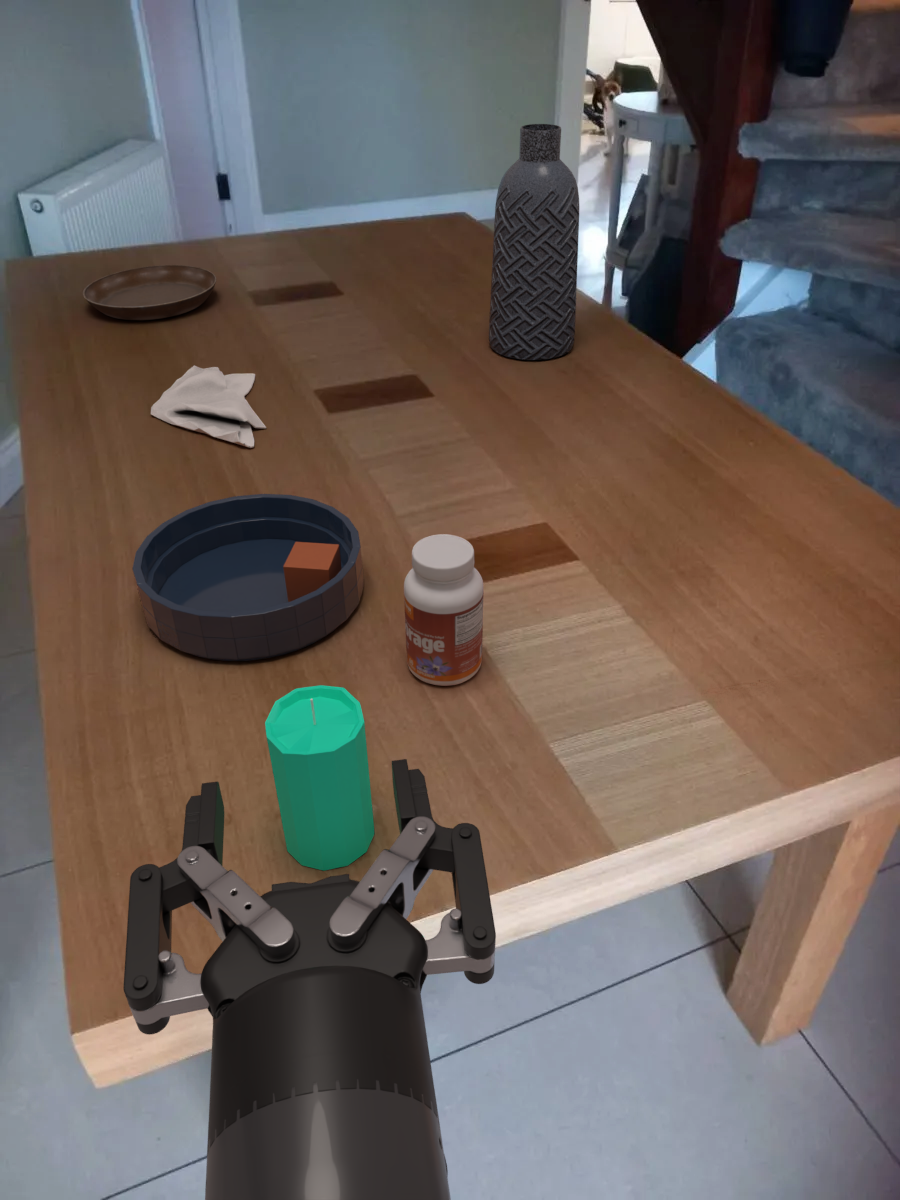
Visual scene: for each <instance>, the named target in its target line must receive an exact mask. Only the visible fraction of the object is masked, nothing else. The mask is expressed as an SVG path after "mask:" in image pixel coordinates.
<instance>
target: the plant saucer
mask: <svg viewBox="0 0 900 1200" xmlns="http://www.w3.org/2000/svg"><path fill="white" fill-rule="evenodd" d="M216 282H217V276H216V275H215V273H213V272H212V271H210V270H208V269H206V268H203V267H198V266H192V265H183V264H161V265H160V264H159V265H149V266H142V267H134V268H129V269H124V270H120V271H116V272H114V273H109V274H107V275H104V276H102V277H100V278H97V279H95V280H93V281H92V282H90V283H89V284H88V285H87V286H85V287H84V289H83V291H82V296H83V298H84V299H85V300H86V302H88V303H89V304H90V306H91V307H93V308H94V309H95V310H97V311H99V312H100V313H102V314H103V315H105V316H108V317H111V318H113V319H117V320H122V321H123V320H126V321H154V320H162V319H168V318H172V317H176V316H180V315H182V314H186V313H189V312H191V311H193V310H195V309H197V308H199V307H200V306H201V305H202V304H204V303H205V302H206V300H207V299H209V296H210V295H211V293H212V292H213V290H214V288H215V286H216V284H217V283H216Z"/></svg>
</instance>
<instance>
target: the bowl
mask: <svg viewBox="0 0 900 1200" xmlns="http://www.w3.org/2000/svg"><path fill="white" fill-rule="evenodd" d="M295 542H308V543H323V544H339V548H340V558H341V570H340V572H339V573H338V574H337V575H336V576H335V577H334V578H333V579H331V580H330V581H328V582H327V583H326V584H324V585H323V586H321V587H320V588H319V589H317V590H316V591H313V592H311V593H309V594H307V595H304V596H302V597H300V598H298V599H295V600H293V601H290V602H288V597H287V590H286V582H285V575H284V568H283V566H284V564H285V562H286V560H287V558H288V556H289V554H290V552H291V550H292V548H293V546H294V544H295ZM361 547H362V546H361V539H360V533H359V531H358V529H357V527H356V526H355V524H354V523H353V522H352V520H351V519H350V518H349V517H348V516H347V515H345V514H344V513H342V512H341V511H340V510H338V509H337V508H336V507H334V506H332V505H329V504H326V503H324V502H321V501H319V500H317V499H313V498H309V497H303V496H298V495H293V494H279V493H256V494H243V495H233V496H229V497H225V498H221V499H216V500H215V499H214V500H211V501H207V502H205V503H202V504H200V505H196V506H194V507H191V508H188V509H185V510H183V511H181V512H180V513H178V514H176V515H175V516H173V517H171V518H169V519H168V520H165V521H163V522H162V523H160V525H158V526H157V527H156V528H155V529H154V530H152V531H151V532H150V533H149V534H148V535H146V536H145V538H144V539H143V541H142V542H141V544H140V545H139V547H138V548H137V550H136V551H135V555H134V560H133V564H132V573H133V577H134V581H135V584H136V588H137V592H138V597H139V600H140V604H141V608H142V612H143V613H144V614H143V615H144V618H145V621H146V624H147V627H148V628H149V629H150V630H151V631H152V632H153V633H154V635H156V636H157V637H158V639H160V640H161V641H162V642H164V643H166V644H167V645H169V646H171V647H173V648H175V649H177V650H179V651H180V652H183V653H186V654H188V655H192V656H195V657H199V658H203V659H207V660H215V661H222V662H223V661H225V662H249V661H258V660H266V659H271V658H275V657H279V656H285V655H287V654H290V653H293V652H296V651H297V652H298V651H300V650H302V649H305V648H307V647H309V646H311V645H313V644H315V643H317V642H318V641H321V640H322V639H324V638H325V637H328V635H330V634H331V633H333V632H334V631H336V629H338V628H339V627H341V625H342V624H343V623H344V622H346V621H347V620H348V619H349V617H351V615H352V613H354V610H355V609H357V607H358V606H359V604H360V601H361V598H362V594H363V591H364V587H365V584H364V573H363V571H364V570H363V560H362V559H363V557H362V548H361Z"/></svg>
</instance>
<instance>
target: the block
mask: <svg viewBox="0 0 900 1200" xmlns="http://www.w3.org/2000/svg"><path fill="white" fill-rule="evenodd" d="M283 568H284V575H285V582H286V590H287V597H288V602H290V601H293V600H295V599H298V598H300V597H302V596H304V595H307V594H309V593H311V592H313V591H316V590H317V589H319V588H320V587H321V586H323V585H324V584H326V583H327V582H328V581H330V580H331V579H333V578H334V577H335V576H336V575H337V574H338V573H339V572H340V570H341V558H340V548H339V544H323V543H308V542H295V544H294V546H293V548H292V550H291V552H290V554H289V556H288V558H287V560H286V562H285V564H284V566H283Z"/></svg>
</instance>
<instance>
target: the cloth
mask: <svg viewBox="0 0 900 1200" xmlns="http://www.w3.org/2000/svg"><path fill="white" fill-rule="evenodd" d="M255 380H256V373H249V372H248V373H230V374H224V373H223V371H221V370H220V368H219V367H218V366H212V367H211V366H210V367H206V368H202V367H199V366H197V365H195V364H194V365H193V366H191V367H190V368H189V369H187V371H186V372H184V374H183V375H182V376H181V377H179V378H177V379H176V380H175V381H174V382H173V384H172V385H171V386H170V387H169V388H167V389H166V390H165V391H163V392H162V394H161V396H160V398H159V399H158V400H156V402H154V403H153V404H152V405H151V407H150V415H151V416H153V417H155V418H157V419H159V420H160V421H161V420H162V421H163V422H165V423H168V424H171V425H173V426H177V427H180V428H182V429H186V430H190V431H194V432H196V433H202V434H205V435H207V436H210V437H213V438H217V439H220V440H224V441H227V442H229V443H232V444H233V443H234V444H237V445H240V446H243V447H246V448H248V449H249V448H250V449H251V448H254V447H255V437H254V433H253V430H252V427H253V428H255V429H267V426H266V425H265V424H264V422H263V421H262V419H260V417H259V416H258V415H257V413H256V412H255V411H254V409H253V408H252V407H251V405H250V403H249V402H248V400H247V399H246V396H247V395H248V394H249V393H250V391H251V390H252V388H253V386H254V384H255Z"/></svg>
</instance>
